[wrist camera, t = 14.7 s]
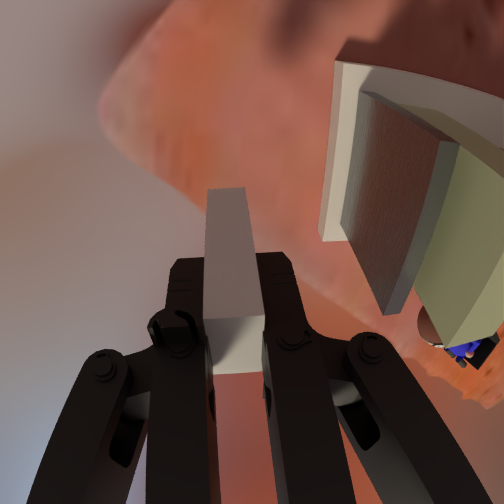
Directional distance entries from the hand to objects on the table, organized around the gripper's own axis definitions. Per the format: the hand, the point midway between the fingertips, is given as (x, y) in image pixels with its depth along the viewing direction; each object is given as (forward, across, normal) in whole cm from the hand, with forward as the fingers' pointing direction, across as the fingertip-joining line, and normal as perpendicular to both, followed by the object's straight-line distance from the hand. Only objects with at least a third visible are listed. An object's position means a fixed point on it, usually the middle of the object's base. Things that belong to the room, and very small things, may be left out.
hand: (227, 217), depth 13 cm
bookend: (+5, +8, 0) cm, 10 cm away
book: (+6, +11, 0) cm, 13 cm away
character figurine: (+7, +24, -17) cm, 30 cm away
